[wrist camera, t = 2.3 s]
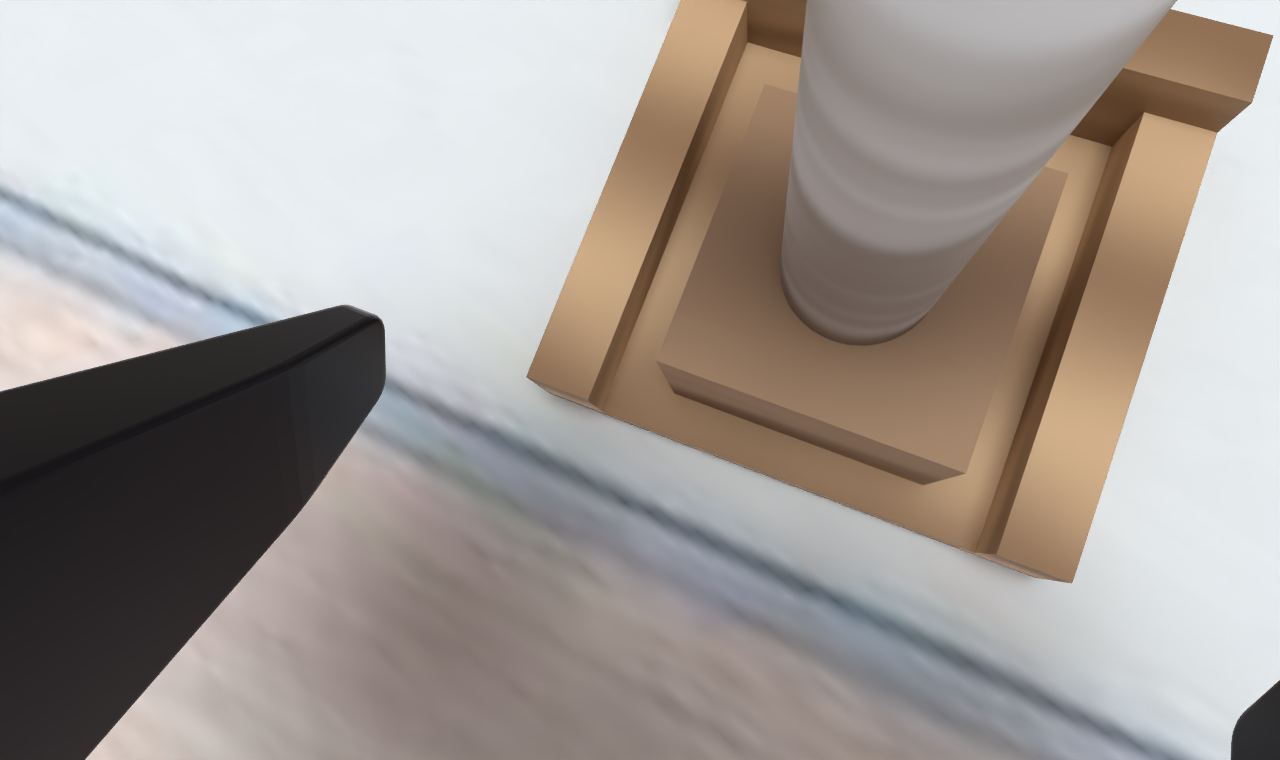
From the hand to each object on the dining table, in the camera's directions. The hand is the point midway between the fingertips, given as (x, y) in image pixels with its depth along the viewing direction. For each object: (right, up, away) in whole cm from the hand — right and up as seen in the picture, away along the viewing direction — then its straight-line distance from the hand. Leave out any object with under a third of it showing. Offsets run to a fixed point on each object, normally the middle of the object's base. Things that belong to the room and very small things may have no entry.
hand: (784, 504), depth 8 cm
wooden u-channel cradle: (+4, +4, +13) cm, 14 cm away
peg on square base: (+3, +3, +12) cm, 13 cm away
